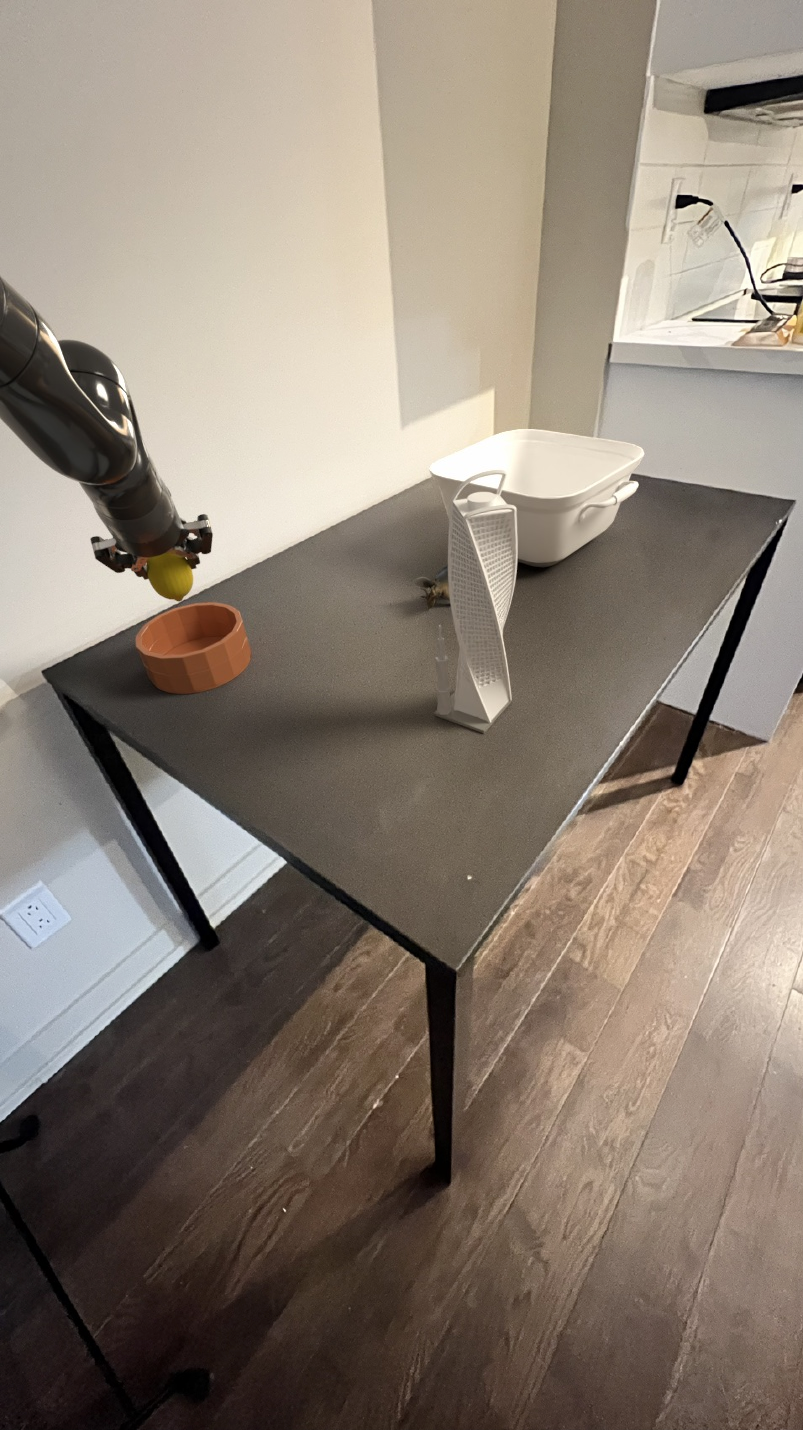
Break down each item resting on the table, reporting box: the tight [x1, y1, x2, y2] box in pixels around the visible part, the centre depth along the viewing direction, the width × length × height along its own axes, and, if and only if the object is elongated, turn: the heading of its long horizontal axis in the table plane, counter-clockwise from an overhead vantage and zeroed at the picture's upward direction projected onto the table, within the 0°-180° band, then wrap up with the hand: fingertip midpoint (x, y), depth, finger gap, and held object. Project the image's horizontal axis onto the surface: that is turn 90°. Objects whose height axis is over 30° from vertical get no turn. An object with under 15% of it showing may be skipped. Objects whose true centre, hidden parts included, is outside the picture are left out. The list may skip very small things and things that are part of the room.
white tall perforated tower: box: [434, 470, 518, 734], centre depth 69 cm, size 8×8×28 cm
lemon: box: [146, 553, 194, 602], centre depth 82 cm, size 6×6×8 cm
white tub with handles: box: [428, 428, 645, 568], centre depth 108 cm, size 34×29×15 cm
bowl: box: [135, 601, 252, 695], centre depth 89 cm, size 15×15×6 cm
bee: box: [414, 565, 450, 611], centre depth 97 cm, size 8×7×9 cm
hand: (169, 567), depth 83 cm, fingers closed on lemon, 5 cm apart
